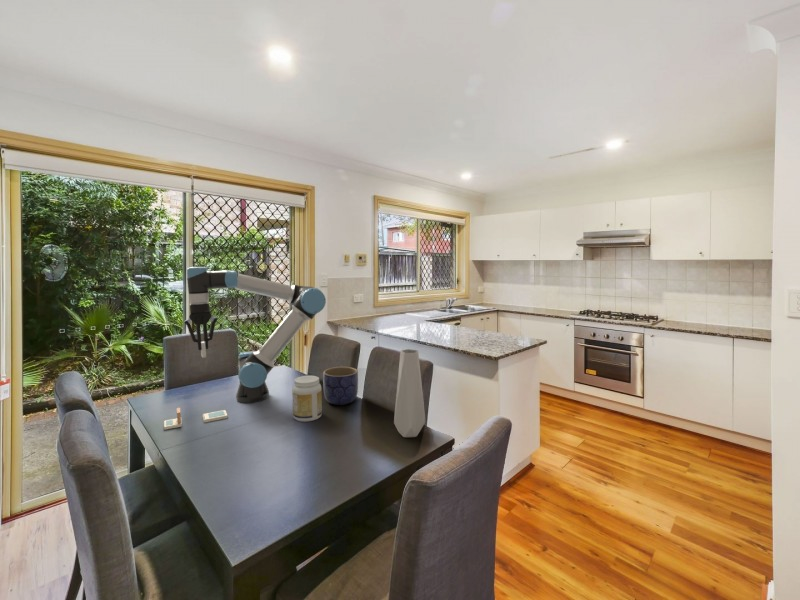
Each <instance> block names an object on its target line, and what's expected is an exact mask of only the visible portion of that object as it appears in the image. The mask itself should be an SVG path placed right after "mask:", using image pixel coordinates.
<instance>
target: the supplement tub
mask: <svg viewBox="0 0 800 600" xmlns="http://www.w3.org/2000/svg"><path fill="white" fill-rule="evenodd" d="M293 381H294V383H293V384H294V385H293V387H292V390H291V392H292V415H293V417H292V418H293V419H294V420H295V421H296V422H301V423H302V422H303V423H305V422H307V423H308V422H312V421H316V420H318V419H319V418H321V417H322V415H323V407H322V406H323V405H322V404H323V403H322V401H323V399H322V398H323V397H322V385H321V383H320V377H319V376H316V375H301V376H297V377H295V378H294V380H293Z"/></svg>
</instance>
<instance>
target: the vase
mask: <svg viewBox="0 0 800 600" xmlns="http://www.w3.org/2000/svg"><path fill="white" fill-rule="evenodd" d="M398 365H399V366H398V372H397V373H398V374H397V382H396V383H397V384H396V393H395V394H396V395H395V406H394V415H393V416H394V419H393V424H394V425H395V428H396V429H397V432H398V433H399V434H400V435H401V436H402V438H416V437H418V435H419V434H420V432H421V431H422V428H423V427H424V425H425V423H426V412H425V404H424V393H423V384H422V375H421V367H420V366H421V364H420V355H419V350H417V349H410V348H408V349H401V350H400V353H399V364H398Z"/></svg>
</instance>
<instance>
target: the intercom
mask: <svg viewBox="0 0 800 600" xmlns="http://www.w3.org/2000/svg"><path fill="white" fill-rule="evenodd" d="M181 414H182V413H181V407H176V418H170V419H166V420H164V421H163V430H164V431H165V430H171V429H176V428H180V427H181V428H182V426H183V425H182V424H183V423H182V416H181Z"/></svg>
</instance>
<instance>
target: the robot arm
mask: <svg viewBox="0 0 800 600" xmlns="http://www.w3.org/2000/svg"><path fill="white" fill-rule="evenodd" d="M186 276H187V278H186V280H187V282H186V283H187V290H188V302H189V303H190V304H189V317H188V318H187V319H185V320H184V321H183V323H184V324H185V326H186V327H187V329H188V333H189V335H190V337H191V339H192V342H193V343H197V349H198V350H199V351H200V355H201V357H202V358H207V350H208V349H209V341H212V340H213V336H214V332H215V325H216V323H217V322H218V318H217V317H214V316H213V315H212V313H211V307H210V303H209V302H210V295H209V289H211V290H213V289H235V290H239V291H241V292H242V291H243V292H247V293H251V294H256V295H261V296H266V297H270V298H275V299H279V300H284V301H287V302H288V303H289V304H290V305H291V310H290V311H289V313H288V314H287V315H286V316H285V317H284V319H283V320H281V323H279V325H278V326H277V327H276V328H275V330H274V331H273V332H272V333H271V334H270V336H269V337H268V338H267V339H266V340H265V341H264V343H263V344H262V345H261V347H260V348H259V349H258V350H253V351H251V350H250V351H243V352H239V354H238V358H237V359H238V374H237V375H238V377H237V378H238V380H239V384H238V386H237V392H236V394H235V399H236V402H239V403H245V404H248V403H250V404H251V403H258V402H262V401H265V400H266V399H268V398H269V397H270V392H269V391H270V390H269V388H268V385H267V383H266V380H267V377H268V375H269V373H270V372H271V370H273V368H274V367H275V364H274V363H275V360H277V358H278V357H279V356H280V354H281V353H282V352H283V350H285V348H286V347H287V346H288V344H289V343H290V342H291V341H292V340H293V339H294V337H295V336H296V334H297V333H299V331H300V330H301V328H302V327H303V326H304V325H305V323H306V322H308V321H312V319H314V317H315V316H316V315H317V314H319V313H320V312H322V311H323V310H324V308H325V306H326V302H327V300H326V296H325V294H324V292H322V290H321V289H319V288H317V287H314V286H306V285H305V286H304V285H297V284H293V285H289V284H284V283H279V282H275V281H271V280H267V279H264V278H259V277H254V276H250V275H247V274H241V273H238V272H237V271H236V270H230V269H229V270H226V269H222V270H215V271H213V270H212V271H209V270H208V269H207V267H206V266H196V267H195V266H193V267H192V266H191V267H188V268H187V270H186ZM209 321H211V323H210V326H209V330H208V323H209ZM192 323H193V324H194V325H195V330H196V332H195V333H196V335H195V333H194V330H193V327H192V325H191V324H192ZM201 325H202V331H203V332H202V333H203V335H202V334H201ZM208 331H209V333H208ZM202 336H203V341H202Z"/></svg>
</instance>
